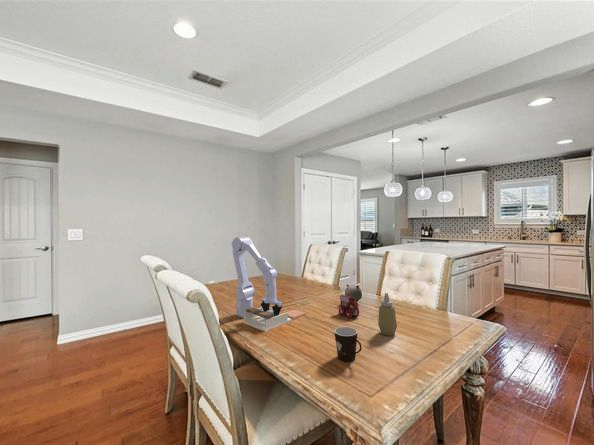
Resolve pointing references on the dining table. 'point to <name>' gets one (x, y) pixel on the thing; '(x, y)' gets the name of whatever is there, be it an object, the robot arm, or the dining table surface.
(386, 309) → the squeeze bottle
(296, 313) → the salmon pink tile
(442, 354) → the dining table surface
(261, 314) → the sliding bar
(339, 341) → the coffee mug
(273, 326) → the puzzle board
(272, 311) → the slate block
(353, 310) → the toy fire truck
